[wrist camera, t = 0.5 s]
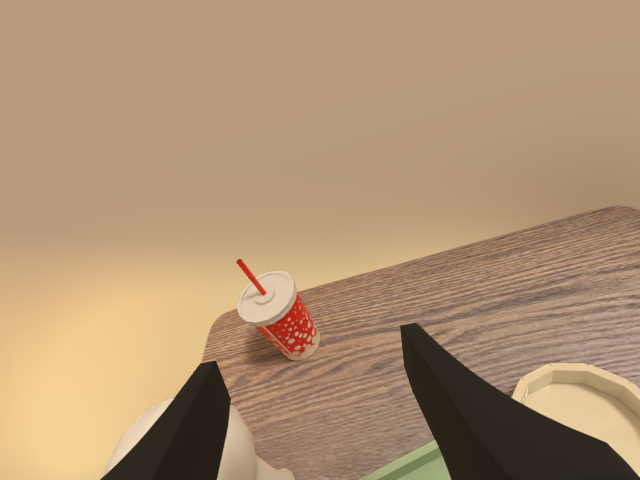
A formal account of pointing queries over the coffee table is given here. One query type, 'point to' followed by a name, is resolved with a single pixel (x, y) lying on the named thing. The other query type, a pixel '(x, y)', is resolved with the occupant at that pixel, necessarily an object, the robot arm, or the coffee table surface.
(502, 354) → the coffee table surface
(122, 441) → the toy character
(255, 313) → the beverage cup
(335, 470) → the coffee table surface
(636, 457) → the beige round bowl
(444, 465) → the tray
